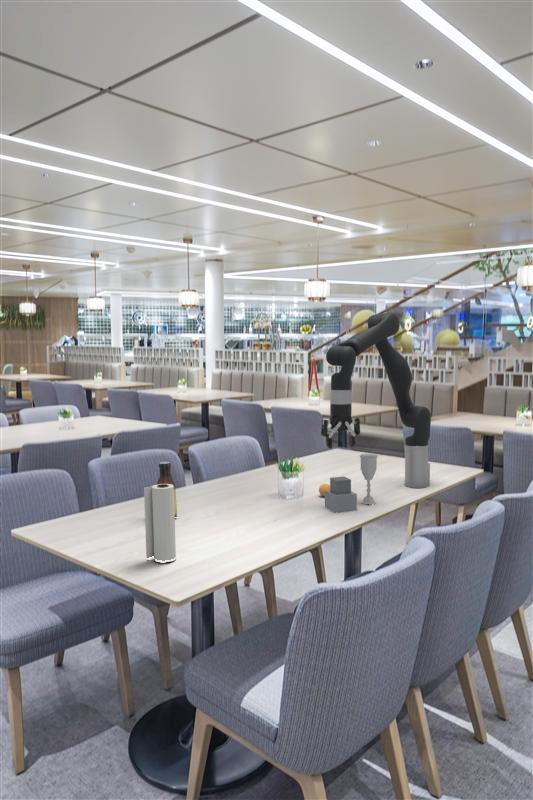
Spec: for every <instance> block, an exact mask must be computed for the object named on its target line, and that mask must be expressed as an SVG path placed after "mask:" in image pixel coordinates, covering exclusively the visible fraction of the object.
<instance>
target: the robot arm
mask: <svg viewBox="0 0 533 800" xmlns="http://www.w3.org/2000/svg"><path fill="white" fill-rule="evenodd" d="M400 324H401V323H400V319H399V316H398V315H397V313H395V312H382V313H376V314H371V315H370V316H369V317H368V320H367V329H364V330H362V331H359V332H357V333H355V334H353V335H352V336H350V337H349V338H348V339H347V340H344V341H341V342H338V343H336V344H333V345H331V346H330V347H329V349H328V350H327V351H326V355H325V359H326V362H327V364H328V365H330V366H333V367H341V369H340V370H339V372H335V373H332V374H331V375H330V377H331V378H330V399H329V400H330V401H329V402H330V405H329V408H330V409H329V411H330V418H329V419H325V418H323V419H321V432H320V436H323V437H325V440H326V444H325V445H326V447H327V448H328V449H329V450H330V449H333V438H332V437H334V434H335V433H336V432H341V431H343V432H344V431H345V432H347V433H348V434H349V438H348V439H349V440H348V442H349V443H348V444H349V445H348V446H349V447H350V448H354V446H355V445H356V436H358V435H360V434H361V424H360V423H361V421H360V419H361V418H359V417H356V416H355V417H353V418H352V412H353V411H352V399H353V398H352V376H353V372H354V367H355V365H356V361H357V357H358V356H360V355H362V354H363V353H364V352H365V351H368V349H370V348H371V347H372V346H374V345H375V347H376V350H377V353H378V354H379V356H380V359H381V362H382V363H383V367H384V370H385V373H386V376H387V378H388V381H389V384H390V386H391V389H392V392H393V395H394V398H395V402H396V404H397V405H396V406H397V408H398V414H399V416H400V417H399V418H400V420H401V422H402V424H403V425H404V427H405V428H406V427H407V428H410V429H411V428H412V429H413V434H411V435H410V436H406V437H405V438H404V439H405V441H404V486H405V487H408V488H414V489H422V488H427V487H430V486H431V485H430V483H431V480H430V478H431V464H430V463H429V440H430V437H431V426H432V425H431V422H432V415H431V412H430V410H429V408H428V407H426V406H421V405H414V404H413V401H412V398H411V395H410V390H411V387H412V382H413V374H412V371H411V368H410V365H409V362H408V361H407V359H406V358H405V357H404V356H403V355H402V354H401V353H400V352H399V351H398V350H396V349H395V348H394V347H393V346H392V344H391V343H390V342H389V339H388V338H390V337H392V336H395V335H397V333H398V332H399V330H400V326H401V325H400ZM329 424H330V425H331V426H330V427H328V426H329ZM351 424H353V428H352V426H351Z"/></svg>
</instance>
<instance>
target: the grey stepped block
mask: <svg viewBox="0 0 533 800" xmlns="http://www.w3.org/2000/svg"><path fill="white" fill-rule="evenodd" d="M329 480H330V481H329V482H330V483H329V485H330V490H327V491H325V497H324V507H325V508H326V509H327V510H330V511H331V512H333V513H336V512H338V513H344V512H345V511H347V512H354V511H353V510H356V511H357V510H358V509H357V504H358V501H357V500H358V499H357V498H358V496H357V495H358V494H357V493H356V492H354V491H352V479H351V478H349V477H346V476H333V477H329ZM345 513H346V512H345Z"/></svg>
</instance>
